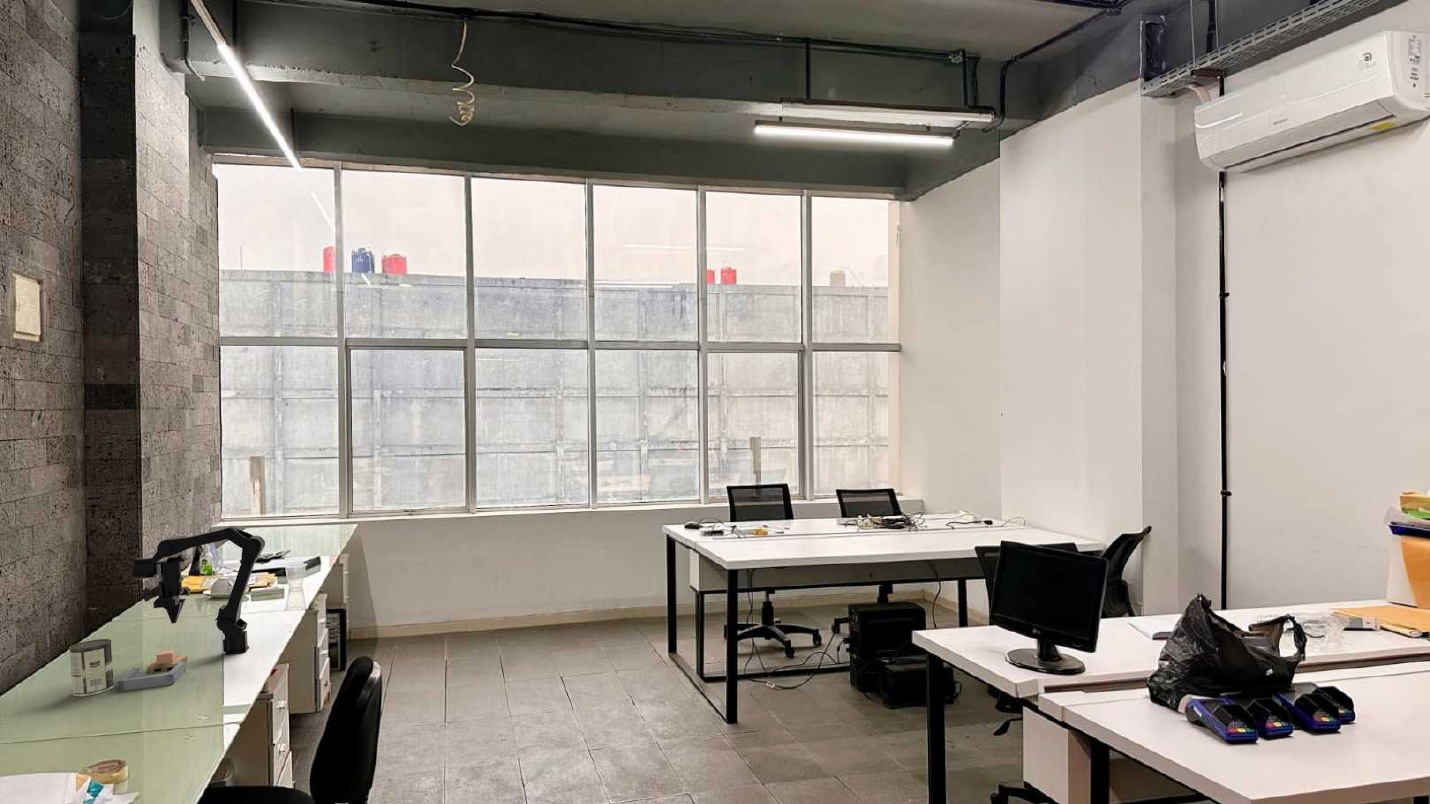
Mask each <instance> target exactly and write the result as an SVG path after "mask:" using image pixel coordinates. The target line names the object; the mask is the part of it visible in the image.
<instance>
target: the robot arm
mask: <svg viewBox="0 0 1430 804" xmlns="http://www.w3.org/2000/svg"><path fill="white" fill-rule="evenodd" d="M225 540H229V541H230V542H231V543H233V544H234V545H236V546H237V547H239V548H241V556H240V557H241V560H240V561H241V562H240V566H239V569H238V571H237V574H236V578H235V581H234V584H233V586H232V589H231V592H230V595H229V598H228V601H227V603H226V605H225V604H223V605H222V606H220V607H219V608H218V612H217V617H216V618H215V619H214V621H215V622H216V627H217V628H218V630H219V631H221V632H222V634H223V635H224V638H223V639H222V651H223V655H224V656H225V655H233V654H243V653H246V652H247V651H248V650H249V648H250V646H249V644H248V642H249V641H248V631H247V630H246V629H247V627H248V622H246V621H245V620H244V619H242V618H241V613H242V602H243V599H244V596H245V593H246V591H247V587H248V584H249V581H250V578H251V575H252V571H253V570H254V566H255V564H256V562H257V560H258V559H259V557H260V556H261V554H262V552H263V551H264V548H265V546H266V541H265V539H264V538H263V537H262V536H260V535H253V534H251V533H249V532H247V531H244V530H241V529H240V528H237V527H236V526H235V525H230V526H228V527H224V528H220V529H216V530H212V531H208V532H203V533H199V534H194V535H189V536H183V535H182V536H171V537H167V538H166V539H164V540H162V541H160V542H159V543H158V545H157V547H156V551H155V553H154V554H153V556H152V557H144V558H143V557H138V558H135V559H134V564H133V565H132V566H133V568H132V571H131V572H132V577H133V579H134V580H135V581H136V580H144V579H154V578H156V577H157V575H159V574H160V580H159V581H158V582H157V583H158V585H156V586H153V587H149V586H148V587H147V588H144V589H142V590H141V591H142V592H140V598H141V599H142V600H144V602H146V603H147V602H149V601H150V600H151V599H155V600H154V601H153V602H152V603H153V609H160V608H163V609H164V610H165V611H166V612H167V615H168V618H169V620H170V623H171V624H176V623H177V621H178V620H179V616H180V615H181V612H182V609H183V607H184V605H185V602H186V600H187V598H182V597H181V596H187V597H188V596H190V595H191V588H189V586H183V583H182V582H183V581H184V576H182V565H181V564H182V563H184V562H186V561H187V560H188V557H186V556H185V555H183V553H182V552H184V551H187V550H189V549H191V548H196V547H200V546H204V545H209V544H213V543H218V542H221V541H222V542H223V541H225ZM180 553H181V554H180ZM177 554H178V556H176V555H177ZM174 555H175V556H174ZM165 558H166V560H164V559H165ZM156 597H157V598H156Z"/></svg>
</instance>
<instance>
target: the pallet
mask: <svg viewBox="0 0 1430 804" xmlns="http://www.w3.org/2000/svg"><path fill="white" fill-rule="evenodd" d="M188 656H189V655H188V654H185V655H177V659H176V660H175V661H174V662H173V663H165V664H157V658H155V659H154V660H153V661H152V662H151V663H150V664H149V665H147V667H146V668H147V673H148V674H149V673H150V674H151V673H155V672H156V671H157V670H159V669H160V672H166V671H168V670H169V669H170V668H174V667H175V666H176V665H177V664H178V663H179V662H185V664H187V662H188V658H189V657H188Z"/></svg>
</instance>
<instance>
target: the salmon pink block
mask: <svg viewBox="0 0 1430 804" xmlns="http://www.w3.org/2000/svg"><path fill="white" fill-rule="evenodd" d="M177 656H178V654H177V649H171V650H162V651H159V652H158V653H157V654H156V657H155V658H156V659H157V664H165V663H173V662H174V661H175V660H176V659H177Z"/></svg>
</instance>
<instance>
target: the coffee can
mask: <svg viewBox="0 0 1430 804" xmlns="http://www.w3.org/2000/svg"><path fill="white" fill-rule="evenodd" d="M68 651H69V656H70V657H69V659H70V660H69V662H70V671H71V685H72V686H71V688H72V696H74V697H88V696H93V695H98V694H102V693H105V692H107V691H110V690H113V689H114V687H115V682H114V670H113V669H114V667H113V654H112V639H110V638H97V639H92V640H87V641H81V642H78V643H75V644H73V645H70V646H68Z"/></svg>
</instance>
